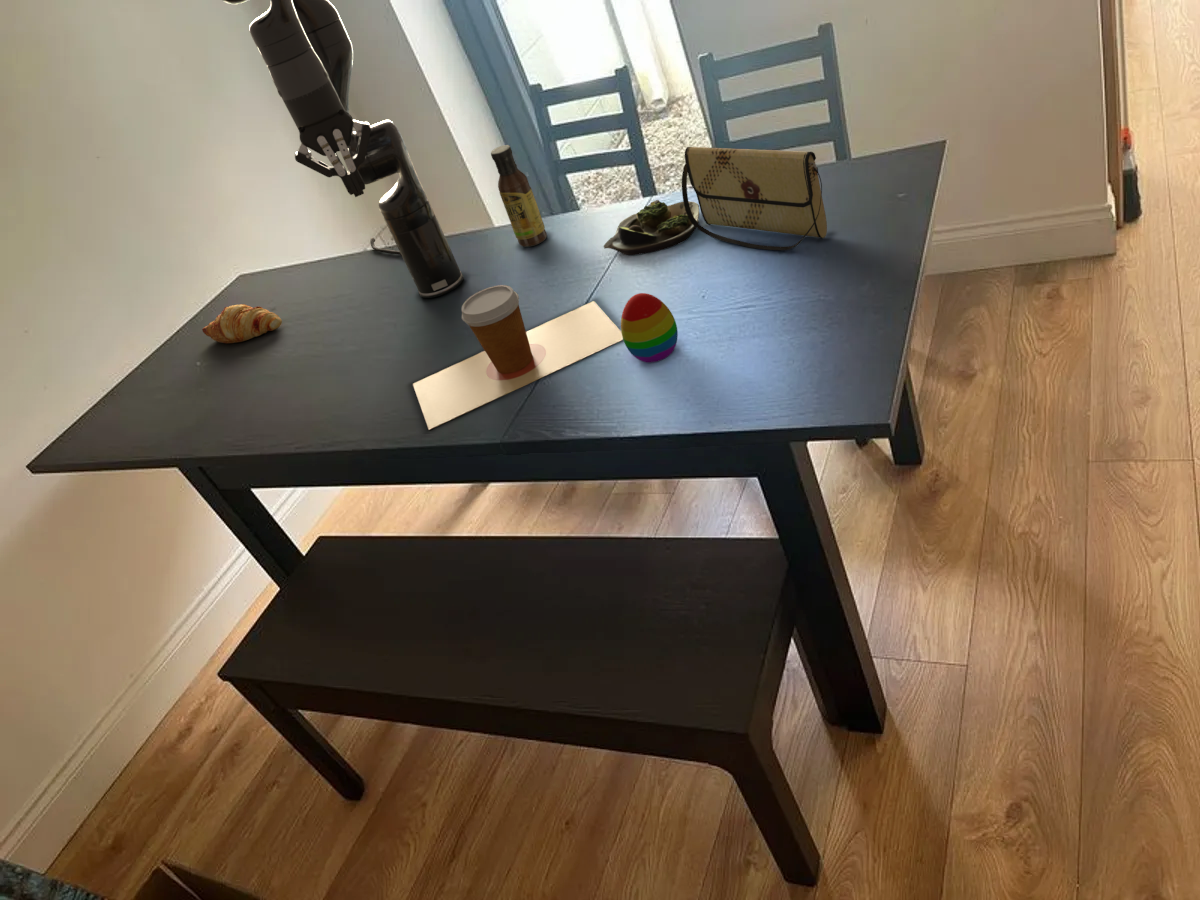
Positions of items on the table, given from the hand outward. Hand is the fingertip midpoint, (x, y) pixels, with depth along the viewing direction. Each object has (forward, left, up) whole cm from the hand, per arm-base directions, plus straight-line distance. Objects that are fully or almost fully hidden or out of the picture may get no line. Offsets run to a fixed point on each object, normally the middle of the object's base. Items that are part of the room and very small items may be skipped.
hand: (359, 194), depth 148 cm
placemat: (+15, +11, -31) cm, 36 cm away
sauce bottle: (-30, +27, -31) cm, 51 cm away
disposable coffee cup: (+16, +11, -31) cm, 36 cm away
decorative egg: (+32, +30, -31) cm, 54 cm away
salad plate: (-8, +46, -31) cm, 56 cm away
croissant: (-49, -36, -31) cm, 68 cm away
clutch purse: (+11, +58, -31) cm, 67 cm away
